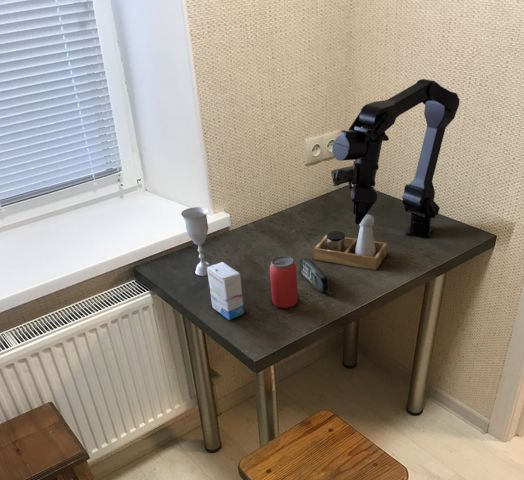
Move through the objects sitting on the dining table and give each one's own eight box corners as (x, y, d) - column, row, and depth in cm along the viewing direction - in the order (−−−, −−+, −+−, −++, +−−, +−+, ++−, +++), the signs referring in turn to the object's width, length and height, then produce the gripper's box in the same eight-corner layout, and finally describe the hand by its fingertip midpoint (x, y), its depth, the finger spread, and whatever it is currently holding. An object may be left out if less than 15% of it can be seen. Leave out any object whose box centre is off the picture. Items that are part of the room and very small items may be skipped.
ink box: (245, 313, 143) (241, 272, 136) (229, 321, 141) (223, 280, 133) (227, 300, 149) (222, 260, 141) (211, 307, 146) (205, 267, 139)
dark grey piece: (297, 258, 154) (323, 281, 142) (307, 255, 155) (334, 277, 143) (298, 274, 157) (324, 297, 145) (308, 271, 158) (334, 294, 146)
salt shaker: (374, 264, 157) (376, 221, 149) (354, 264, 158) (354, 221, 150) (375, 254, 161) (377, 211, 154) (355, 254, 163) (356, 211, 155)
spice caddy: (326, 245, 169) (326, 234, 166) (386, 254, 161) (387, 243, 159) (314, 259, 162) (313, 248, 160) (376, 270, 155) (376, 258, 152)
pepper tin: (330, 249, 166) (330, 230, 162) (347, 252, 164) (347, 232, 160) (324, 257, 163) (324, 237, 159) (341, 260, 161) (341, 240, 157)
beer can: (271, 296, 148) (267, 256, 141) (296, 294, 148) (294, 253, 141) (273, 310, 143) (270, 269, 135) (299, 307, 143) (297, 265, 136)
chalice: (220, 266, 163) (211, 208, 152) (211, 278, 158) (201, 218, 147) (197, 264, 166) (187, 206, 155) (187, 275, 161) (176, 216, 150)
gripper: (334, 148, 151) (326, 206, 159) (336, 162, 135) (326, 225, 143) (376, 153, 151) (365, 210, 159) (383, 167, 135) (370, 231, 143)
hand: (356, 218), depth 151 cm, fingers open, 9 cm apart
